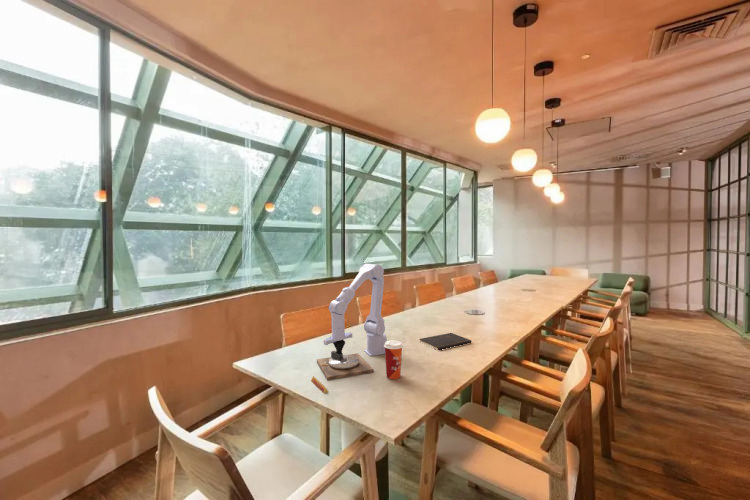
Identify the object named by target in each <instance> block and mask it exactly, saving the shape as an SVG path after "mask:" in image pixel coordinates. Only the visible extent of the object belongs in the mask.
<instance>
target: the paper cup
mask: <svg viewBox="0 0 750 500" xmlns="http://www.w3.org/2000/svg"><path fill="white" fill-rule="evenodd" d="M384 347H385V354H384V357H385V372H386V373H385V374H386V378H387V379H389V380H398V379H400V378H401V370H402V355H403V354H402V353H403V347H404V346H403V342H401V341H400V340H395V339H391V340H387V341H386V342H385V345H384Z"/></svg>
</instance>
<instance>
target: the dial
mask: <svg viewBox="0 0 750 500" xmlns="http://www.w3.org/2000/svg"><path fill="white" fill-rule="evenodd" d="M330 357H332V358H331V359H330V360H329V366H330V367H332V368H334V369H340V370H345V369H351V368H354V367H356V366H358V364H359V359H358V358H357V357H355V356H352V355H350V354H343V352H342V353H340V352H337V351H336V350H332V351H330Z"/></svg>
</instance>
